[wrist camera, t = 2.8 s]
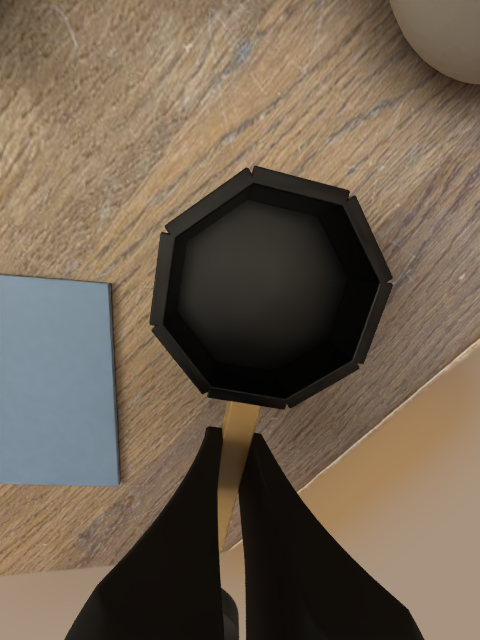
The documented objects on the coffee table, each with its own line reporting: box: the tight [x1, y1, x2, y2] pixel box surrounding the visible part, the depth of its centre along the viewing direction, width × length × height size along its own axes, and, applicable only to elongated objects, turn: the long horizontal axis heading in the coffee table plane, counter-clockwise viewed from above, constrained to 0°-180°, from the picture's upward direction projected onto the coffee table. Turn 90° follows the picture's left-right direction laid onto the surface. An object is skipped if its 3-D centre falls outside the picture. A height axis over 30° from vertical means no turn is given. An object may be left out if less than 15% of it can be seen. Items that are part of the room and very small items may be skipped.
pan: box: [150, 166, 393, 551], centre depth 11 cm, size 16×8×3 cm, turn 168°
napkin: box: [0, 274, 120, 486], centre depth 14 cm, size 13×11×1 cm
